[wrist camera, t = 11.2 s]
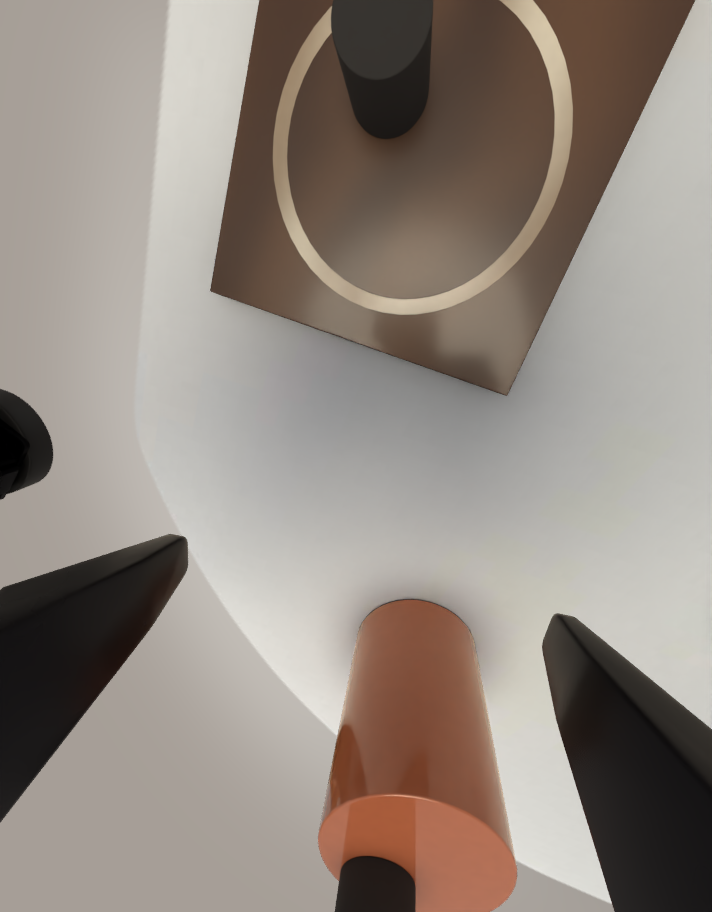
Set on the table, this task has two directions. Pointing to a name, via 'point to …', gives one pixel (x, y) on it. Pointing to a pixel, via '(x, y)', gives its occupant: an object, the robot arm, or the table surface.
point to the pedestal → (419, 763)
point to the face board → (435, 175)
